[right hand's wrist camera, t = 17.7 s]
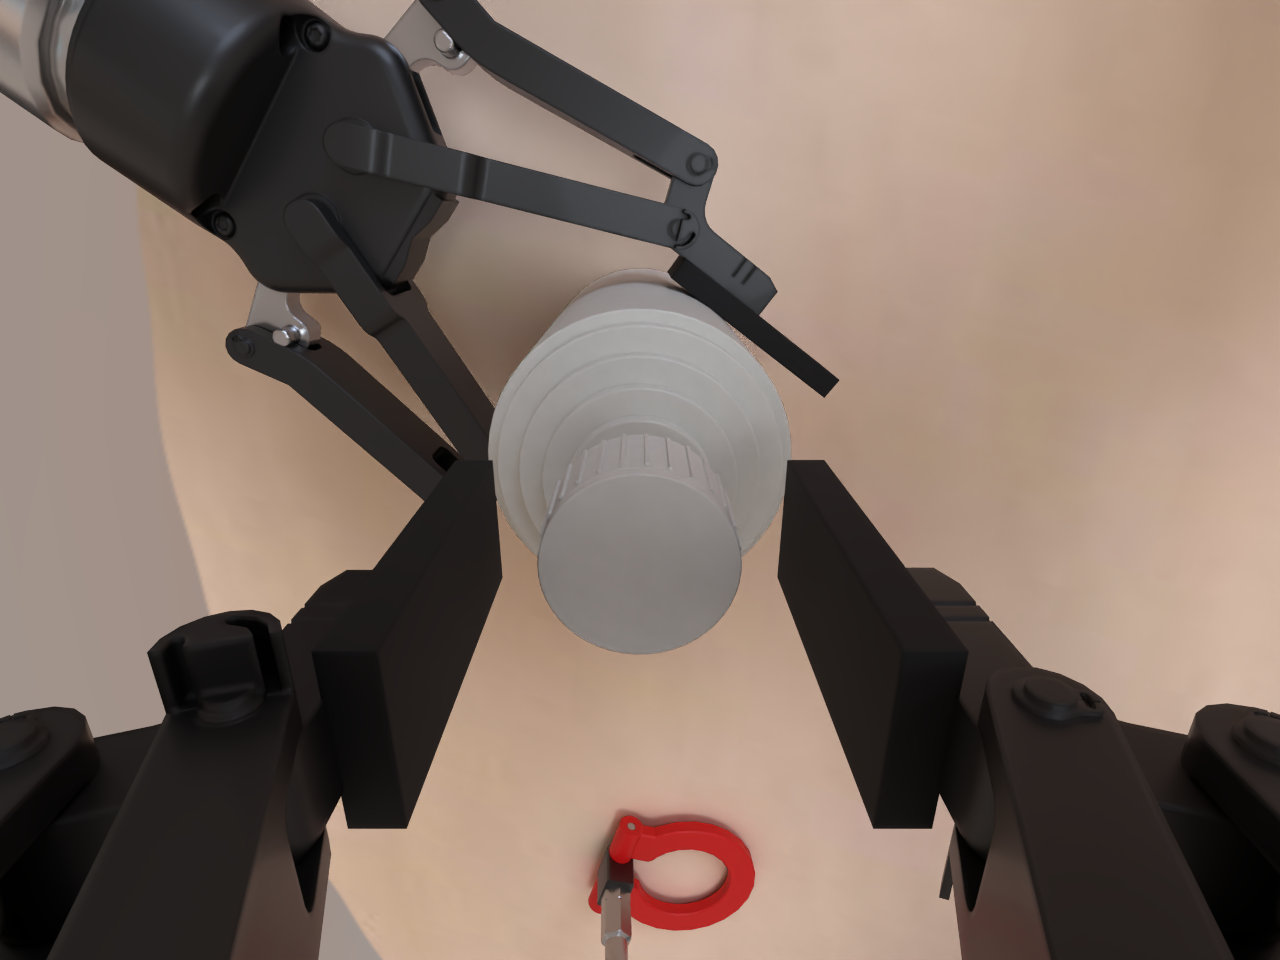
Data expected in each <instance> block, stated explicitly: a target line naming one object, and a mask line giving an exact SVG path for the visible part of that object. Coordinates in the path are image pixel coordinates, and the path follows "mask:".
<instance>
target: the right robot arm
mask: <svg viewBox="0 0 1280 960" xmlns="http://www.w3.org/2000/svg"><path fill="white" fill-rule="evenodd" d="M501 580H502V566H501V554H500V542H499V530H498V518H497V506H496V494H495V482H494V470H493V460H455V462H454V463H453V464H452V466H451V467H450V468H449V470H448V471H447V472H446V474H445V475H444V476H443V478H442V479H441V480H440V482H439V483H438V484H437V486H436V487H435V488H434V490H433V491H432V492H431V494H430V495H429V496H428V497H427V499H426V500H425V501H424V503H423V504H422V505H421V507H420V508H419V509H418V511H417V512H416V513H415V515H414V516H413V517H412V519H411V520H410V521H409V523H408V524H407V525H406V527H405V528H404V529H403V531H402V532H401V533H400V535H399V536H398V537H397V538H396V540H395V541H394V542H393V544H392V545H391V546H390V548H389V549H388V550H387V552H386V553H385V554H384V556H383V557H382V558H381V560H380V561H379V562H378V564H377V565H376V566H375V568H374V569H373V570H346V571H344V572H343V573H341V574H339V575H338V576H336V577H334V578H333V579H331V580H330V581H328V582H326V583H325V584H323V585H321V586H320V587H319V588H318V590H317V591H316V592H315V593H314V594H313V595H312V596H311V598H310V599H309V600H308V601H307V602H306V603H305V607H304V608H301V609H300V610H299V612H298V613H297V614H296V615H295V616H294V617H293V618H292V620H291V624H287V625H286V627H285V628H284V629H283V630H282V628H281V623H280V620H278V619H277V618H276V617H274V616H273V615H272V614H270V613H266V612H261V611H255V610H242V611H228V612H224V613H219V614H215V615H211V616H206V617H203V618H201V619H198V620H196V621H193V622H190V623H188V624H185V625H183V626H180V627H179V628H177V629H175V630H174V631H172V632H170V633H169V634H167V635H166V636H164V637H162V638H161V639H159V640H158V642H157V643H156V644H155V645H154V646H153V647H152V648H151V649H150V650H149V651H148V652H147V654H148V657H149V660H150V663H151V667H152V670H153V673H154V676H155V679H156V683H157V686H158V689H159V692H160V695H161V699H162V702H163V705H164V708H165V711H166V715H165V718H164V720H163V722H162V724H158V725H154V726H150V727H145V728H140V729H136V730H131V731H125V732H121V733H116V734H111V735H106V736H101V737H96V738H93V736H92V733H91V731H90V728H89V725H88V722H87V720H86V717H85V716H84V715H83V714H81V713H80V712H79V711H77V710H76V709H74V708H63V707H48V708H42V709H35V710H27V711H23V712H19V713H15V714H14V715H12V716H10V715H9V716H6V717H3V718H0V960H318V957H319V948H320V940H321V932H322V924H323V915H324V907H325V899H326V891H327V883H328V875H329V866H330V858H331V850H330V843H329V838H328V833H327V829H326V824H327V822H328V820H329V818H330V816H331V814H332V812H333V811H334V809H335V807H336V805H337V803H338V801H339V799H340V797H342V802H343V807H344V812H345V816H346V821H347V826H348V829H407V826H408V824H409V821H410V818H411V816H412V813H413V810H414V808H415V805H416V803H417V800H418V797H419V795H420V792H421V789H422V787H423V784H424V782H425V779H426V776H427V774H428V771H429V768H430V766H431V763H432V761H433V758H434V755H435V753H436V750H437V748H438V745H439V742H440V740H441V737H442V734H443V732H444V729H445V727H446V724H447V721H448V719H449V716H450V713H451V711H452V708H453V706H454V703H455V700H456V698H457V695H458V692H459V690H460V687H461V685H462V682H463V679H464V677H465V674H466V671H467V669H468V666H469V664H470V661H471V658H472V656H473V653H474V650H475V648H476V645H477V643H478V640H479V637H480V635H481V632H482V630H483V627H484V624H485V622H486V619H487V616H488V614H489V611H490V609H491V606H492V603H493V601H494V598H495V595H496V593H497V590H498V588H499V585H500V582H501ZM778 580H779V582H780V585H781V588H782V590H783V593H784V595H785V598H786V601H787V603H788V606H789V609H790V611H791V614H792V616H793V619H794V622H795V624H796V627H797V630H798V632H799V635H800V637H801V640H802V643H803V645H804V648H805V651H806V653H807V656H808V658H809V661H810V664H811V666H812V669H813V671H814V674H815V677H816V679H817V682H818V685H819V687H820V690H821V692H822V695H823V698H824V700H825V703H826V706H827V708H828V711H829V713H830V716H831V719H832V721H833V724H834V727H835V729H836V732H837V734H838V737H839V740H840V742H841V745H842V748H843V750H844V753H845V755H846V758H847V761H848V763H849V766H850V768H851V771H852V774H853V776H854V779H855V782H856V784H857V787H858V789H859V792H860V795H861V797H862V800H863V803H864V805H865V808H866V810H867V813H868V816H869V818H870V821H871V824H872V826H873V829H932V826H933V821H934V816H935V812H936V807H937V802H938V797H939V794H940V795H941V797H942V799H943V801H944V803H945V805H946V807H947V809H948V811H949V813H950V815H951V817H952V819H953V820H954V822H955V824H954V829H953V833H952V838H951V842H950V847H949V851H948V855H947V860H946V864H945V869H944V873H943V878H942V882H941V889H940V895H939V898H943V899H947V900H949V897H950V892H951V888H952V885H953V889H954V897H955V906H956V914H957V922H958V930H959V938H960V946H961V955H962V960H1280V715H1279V714H1276V713H1273V712H1271V713H1269V712H1268V711H1267V710H1263V709H1259V708H1255V707H1247V706H1240V705H1234V704H1216V705H1207V706H1205V707H1204V708H1202V709H1201V710H1200V711H1198V712H1197V713H1196V714H1195V717H1194V720H1193V722H1192V725H1191V728H1190V731H1189V733H1188V735H1185V734H1180V733H1175V732H1170V731H1165V730H1160V729H1155V728H1150V727H1145V726H1140V725H1135V724H1131V723H1126V722H1123V721H1119V720H1117V718H1116V716H1115V714H1114V712H1113V711H1112V710H1111V709H1110V707H1109V706H1108V705H1107V704H1106V702H1105V701H1104V700H1103V699H1102V698H1101V697H1100V696H1099V695H1097V694H1096V693H1094V692H1093V691H1092V690H1090V689H1089V688H1087V687H1086V686H1085V685H1083V684H1081V683H1079V682H1077V681H1074V680H1072V679H1070V678H1068V677H1066V676H1063V675H1061V674H1058V673H1055V672H1051V671H1047V670H1043V669H1039V668H1034V667H1032V666H1031V665H1030V664H1029V662H1028V661H1027V660H1026V659H1025V658H1024V657H1023V656H1022V654H1021V653H1020V652H1019V651H1018V650H1017V649H1016V648H1015V646H1014V645H1013V644H1012V643H1011V642H1010V641H1009V640H1008V638H1007V637H1006V636H1005V635H1004V634H1003V633H1002V631H1001V630H1000V629H999V628H998V627H997V626H996V625H995V623H994V622H993V621H989V617H988V615H987V614H986V613H985V612H984V611H983V610H982V609H981V607H980V606H976V602H975V600H974V599H973V598H972V597H971V596H970V595H969V594H968V592H967V591H966V590H965V589H964V588H963V587H962V586H961V584H960V583H958V582H956V581H955V580H953V579H951V578H950V577H948V576H946V575H945V574H943V573H941V572H940V571H938V570H936V569H935V568H905V566H904V565H903V564H902V562H901V561H900V560H899V558H898V557H897V556H896V554H895V553H894V552H893V550H892V549H891V548H890V546H889V545H888V544H887V542H886V541H885V540H884V538H883V537H882V536H881V535H880V533H879V532H878V531H877V529H876V528H875V527H874V525H873V524H872V523H871V521H870V520H869V519H868V517H867V516H866V515H865V513H864V512H863V511H862V509H861V508H860V507H859V505H858V504H857V503H856V501H855V500H854V499H853V497H852V496H851V495H850V494H849V492H848V491H847V490H846V488H845V487H844V486H843V484H842V483H841V482H840V480H839V479H838V478H837V476H836V475H835V474H834V472H833V471H832V470H831V468H830V467H829V466H828V464H827V463H826V462H825V460H787V470H786V482H785V494H784V506H783V518H782V530H781V542H780V554H779V566H778Z"/></svg>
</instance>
